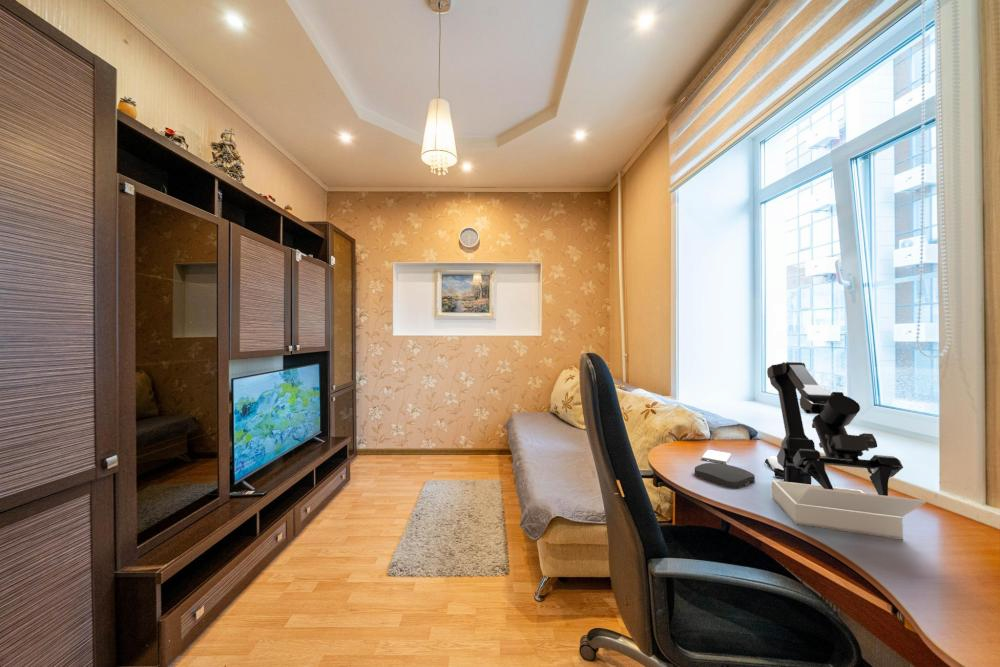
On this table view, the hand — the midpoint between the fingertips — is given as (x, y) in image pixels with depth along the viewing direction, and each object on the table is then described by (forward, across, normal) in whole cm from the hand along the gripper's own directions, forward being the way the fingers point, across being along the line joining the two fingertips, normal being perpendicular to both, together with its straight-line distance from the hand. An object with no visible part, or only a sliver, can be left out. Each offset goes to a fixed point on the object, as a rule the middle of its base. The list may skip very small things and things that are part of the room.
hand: (858, 498), depth 80 cm
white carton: (-2, 0, +17) cm, 17 cm away
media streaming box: (-15, -20, +32) cm, 41 cm away
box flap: (0, 0, +7) cm, 7 cm away
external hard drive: (-30, -18, +48) cm, 60 cm away
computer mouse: (-25, +1, +43) cm, 50 cm away
